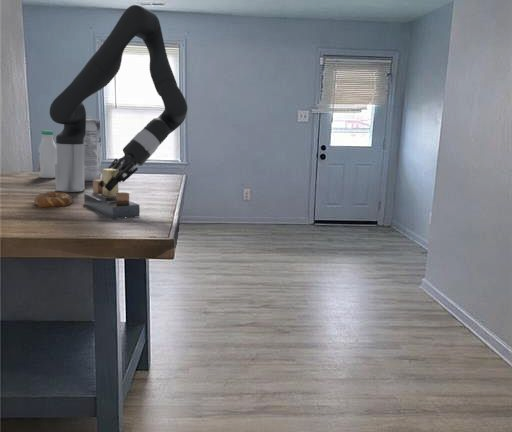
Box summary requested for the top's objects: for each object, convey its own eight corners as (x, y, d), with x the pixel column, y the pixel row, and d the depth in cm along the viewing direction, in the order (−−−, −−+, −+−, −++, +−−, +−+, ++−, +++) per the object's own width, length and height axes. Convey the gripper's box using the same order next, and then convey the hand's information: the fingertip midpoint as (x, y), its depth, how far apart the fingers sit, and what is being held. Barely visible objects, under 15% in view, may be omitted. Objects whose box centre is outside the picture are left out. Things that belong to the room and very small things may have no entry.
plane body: (84, 204, 147) (83, 179, 146) (108, 202, 152) (108, 178, 151) (112, 219, 129) (112, 191, 128) (139, 216, 134) (139, 189, 132)
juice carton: (95, 181, 194) (94, 116, 188) (71, 180, 194) (69, 115, 188) (103, 179, 203) (102, 116, 197) (79, 177, 203) (77, 115, 197)
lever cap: (102, 198, 141) (102, 168, 139) (113, 197, 143) (113, 168, 141) (108, 200, 137) (107, 170, 136) (119, 199, 140) (119, 170, 138)
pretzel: (54, 210, 138) (54, 198, 138) (25, 206, 141) (24, 194, 141) (80, 203, 150) (80, 192, 149) (52, 200, 153) (52, 189, 152)
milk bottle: (62, 177, 202) (61, 131, 198) (49, 179, 195) (47, 131, 190) (48, 175, 204) (46, 130, 200) (35, 177, 197) (32, 130, 193)
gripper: (124, 137, 146) (86, 176, 141) (143, 140, 135) (103, 182, 130) (140, 153, 151) (104, 192, 146) (159, 158, 140) (121, 199, 135)
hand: (104, 187), depth 138 cm, fingers closed on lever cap, 4 cm apart
